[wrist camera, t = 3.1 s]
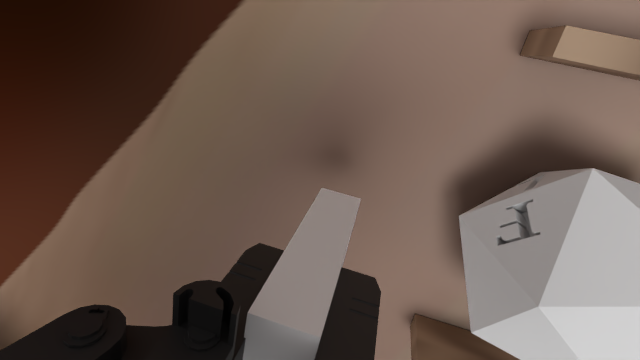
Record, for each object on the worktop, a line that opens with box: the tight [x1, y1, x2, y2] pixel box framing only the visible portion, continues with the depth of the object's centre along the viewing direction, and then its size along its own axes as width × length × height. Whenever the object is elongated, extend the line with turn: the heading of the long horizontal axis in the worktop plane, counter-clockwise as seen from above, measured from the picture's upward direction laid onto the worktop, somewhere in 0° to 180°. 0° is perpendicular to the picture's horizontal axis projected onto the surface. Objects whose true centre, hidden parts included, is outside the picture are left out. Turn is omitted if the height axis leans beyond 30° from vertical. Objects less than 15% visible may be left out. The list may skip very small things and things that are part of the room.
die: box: [459, 168, 640, 360], centre depth 14 cm, size 8×9×10 cm
